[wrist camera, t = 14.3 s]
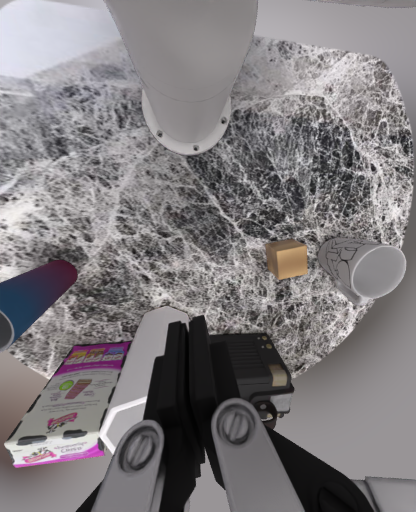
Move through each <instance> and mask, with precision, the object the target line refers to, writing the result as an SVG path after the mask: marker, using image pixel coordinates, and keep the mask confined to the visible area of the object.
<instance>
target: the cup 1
mask: <svg viewBox="0 0 416 512" xmlns="http://www.w3.org/2000/svg"><path fill="white" fill-rule="evenodd" d="M76 280H77V271H76V269H75V267H74V266H73V265H72V264H70V263H69V262H67V261H64V260H55V261H52V262H50V263H47V264H45V265H43V266H40V267H38V268H35V269H33V270H30V271H28V272H26V273H23V274H21V275H18V276H16V277H13V278H11V279H9V280H6V281H4V282H1V283H0V352H2V351H4V350H6V349H7V348H8V347H10V346H11V345H12V344H13V343H14V342H15V341H16V340H17V339H18V338H19V337H20V336H21V335H22V334H23V333H24V332H25V331H26V330H27V329H28V328H29V327H30V326H31V325H32V324H33V323H34V322H35V321H36V320H37V319H38V318H39V317H40V316H41V315H42V314H43V313H44V312H45V311H46V310H47V309H48V308H49V307H50V306H51V305H52V304H53V303H54V302H55V301H56V300H58V299H59V298H60V297H61V296H62V295H63V294H64V293H65V292H66V291H67V290H68V289H69V288H70V287H71V286H72V285H73V284H74V283H75V282H76Z"/></svg>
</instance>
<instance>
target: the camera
mask: <svg viewBox="0 0 416 512" xmlns="http://www.w3.org/2000/svg"><path fill="white" fill-rule="evenodd" d="M209 337H210V341H211V343H215V342H220V341H224V340H226V342H227V346H228V350H229V354H230V357H231V361H232V365H233V369H234V373H235V377H236V381H237V384H238V388H239V392H240V396H241V399H243V400H246V401H248V402H249V403H250V404H252V405H253V406H254V408H255V409H256V411H257V412H258V414H259V416H260V418H261V419H267V418H270V417H273V419H271V420H266V421H262V422H263V424H265V425H266V426H268V427H269V428H271V429H274V427H275V425H276V420H277V417H279V418H282V417H283V416H284V414H286V413H289V412H290V403H291V399H292V394H293V392H294V387H293V385H292V383H291V374H290V372H289V370H288V369H287V367H286V365H285V364H284V362H283V360H282V358H281V357H280V355H279V353H278V351H277V350H276V348H275V346H274V344H273V343H272V341H271V339H270V338H269V336H268V335H267V334H255V335H250V334H243V335H216V336H209Z"/></svg>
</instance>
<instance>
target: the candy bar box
mask: <svg viewBox="0 0 416 512" xmlns="http://www.w3.org/2000/svg"><path fill="white" fill-rule="evenodd" d="M130 348H131V342H118V343H107V344H95V345H82V346H73V348H72V349H71V351H70V352H69V353H68V355H67V356H66V358H65V359H64V360H63V362H62V363H61V365H60V366H59V367H58V369H57V370H56V372H55V373H54V375H53V376H52V377H51V379H50V380H49V382H48V383H47V385H46V386H45V387H44V389H43V390H42V391H41V393H40V394H39V396H38V397H37V398H36V400H35V401H34V403H33V404H32V405H31V407H30V408H29V410H28V411H27V413H26V414H25V415H24V417H23V418H22V420H21V421H20V423H19V424H18V425H17V427H16V428H15V429H14V431H13V432H12V434H11V435H10V436H9V438H8V440H7V441H6V442H5V443H4V445H5V447H6V449H7V451H8V453H9V455H10V457H11V459H12V460H13V462H12V463H13V465H14V466H15V467H16V468H18V467H23V466H31V465H39V464H47V463H54V462H62V461H68V460H77V459H84V458H91V457H99V456H104V455H105V453H106V450H107V446H106V445H105V443H104V442H103V441H102V439H101V438H100V437H99V432H100V429H101V427H102V424H103V421H104V418H105V416H106V413H107V410H108V408H109V405H110V402H111V399H112V397H113V394H114V391H115V388H116V386H117V383H118V380H119V378H120V375H121V372H122V369H123V367H124V364H125V361H126V358H127V356H128V353H129V350H130Z"/></svg>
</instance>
